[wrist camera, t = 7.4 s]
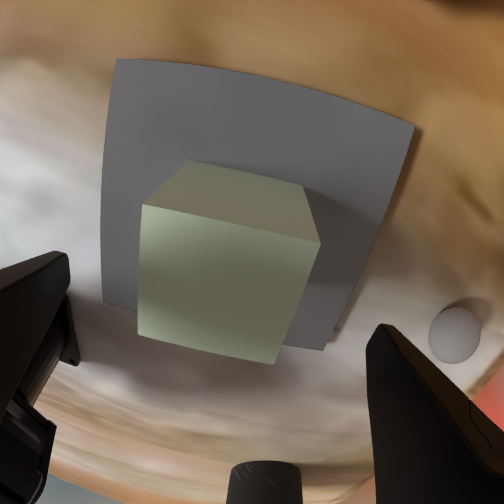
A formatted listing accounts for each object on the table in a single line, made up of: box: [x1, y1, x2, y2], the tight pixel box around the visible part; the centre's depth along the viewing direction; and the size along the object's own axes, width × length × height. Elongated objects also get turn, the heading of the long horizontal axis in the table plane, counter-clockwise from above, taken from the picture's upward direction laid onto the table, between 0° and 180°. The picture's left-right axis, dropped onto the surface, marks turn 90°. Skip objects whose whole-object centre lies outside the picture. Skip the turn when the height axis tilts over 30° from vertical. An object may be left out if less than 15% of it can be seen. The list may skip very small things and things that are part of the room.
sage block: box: [138, 160, 321, 365], centre depth 11 cm, size 4×4×5 cm
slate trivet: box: [100, 59, 415, 351], centre depth 13 cm, size 12×12×1 cm
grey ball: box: [428, 307, 481, 364], centre depth 15 cm, size 3×3×3 cm
